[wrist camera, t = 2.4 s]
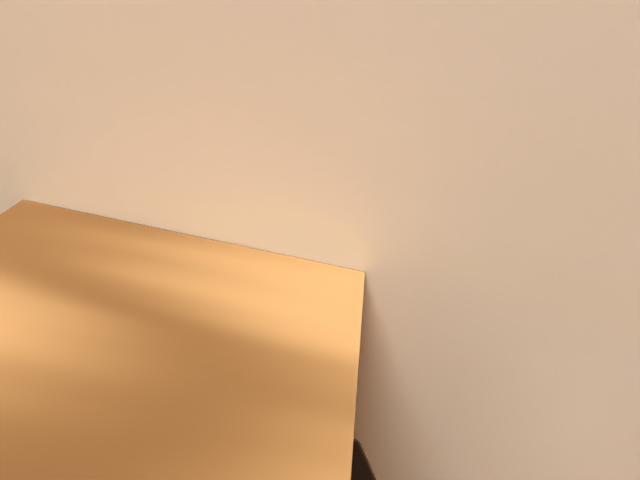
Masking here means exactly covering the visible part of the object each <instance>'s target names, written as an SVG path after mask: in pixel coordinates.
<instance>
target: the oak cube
mask: <svg viewBox="0 0 640 480" xmlns="http://www.w3.org/2000/svg"><path fill="white" fill-rule="evenodd" d="M364 280H365V272H361V271H357V270H352V269H347V268H343V267H338V266H333V265H328V264H324V263H319V262H314V261H310V260H305V259H300V258H295V257H291V256H286V255H281V254H277V253H272V252H267V251H262V250H258V249H253V248H248V247H244V246H239V245H234V244H229V243H225V242H220V241H215V240H211V239H206V238H201V237H196V236H192V235H187V234H182V233H178V232H173V231H168V230H163V229H159V228H154V227H149V226H145V225H140V224H135V223H130V222H126V221H121V220H116V219H112V218H107V217H102V216H98V215H93V214H88V213H83V212H79V211H74V210H69V209H65V208H60V207H55V206H50V205H46V204H41V203H36V202H32V201H27V200H22V201H20V202H19V203H17V204H16V205H14V206H13V207H11V208H10V209H8V210H7V211H5V212H4V213H2V214H1V215H0V480H351V467H352V453H353V439H354V424H355V410H356V395H357V381H358V366H359V352H360V337H361V323H362V308H363V294H364Z"/></svg>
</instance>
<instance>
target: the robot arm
mask: <svg viewBox="0 0 640 480" xmlns="http://www.w3.org/2000/svg"><path fill="white" fill-rule="evenodd" d="M351 480H376V478H375V475H374V473H373V471H372V469H371V466H370V464H369V462H368V460H367V458H366V455H365V453H364V451H363V449H362V446H361V444H360V443H359V441H357V440H356V439H353V453H352V467H351Z"/></svg>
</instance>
